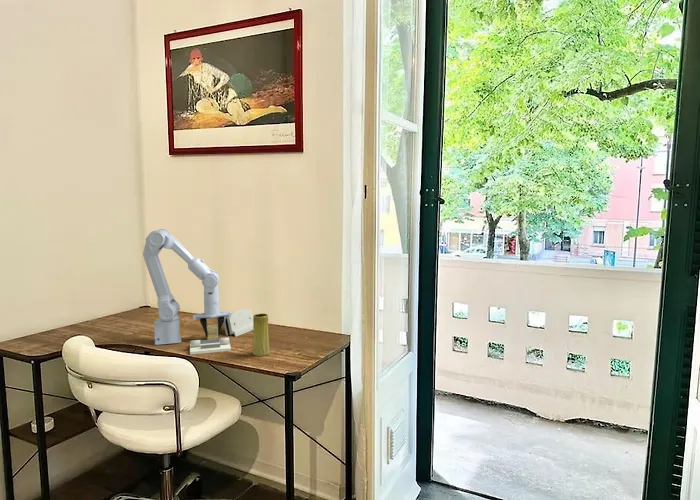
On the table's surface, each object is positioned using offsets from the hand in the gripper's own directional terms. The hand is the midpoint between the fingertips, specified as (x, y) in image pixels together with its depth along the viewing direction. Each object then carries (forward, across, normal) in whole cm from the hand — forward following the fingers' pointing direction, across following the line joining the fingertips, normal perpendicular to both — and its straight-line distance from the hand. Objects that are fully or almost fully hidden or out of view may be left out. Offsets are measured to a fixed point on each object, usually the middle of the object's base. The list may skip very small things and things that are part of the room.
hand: (212, 336), depth 198 cm
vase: (+2, +16, -24) cm, 29 cm away
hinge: (+2, +12, +10) cm, 16 cm away
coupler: (+1, 0, 0) cm, 1 cm away
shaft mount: (+1, -1, -11) cm, 11 cm away
